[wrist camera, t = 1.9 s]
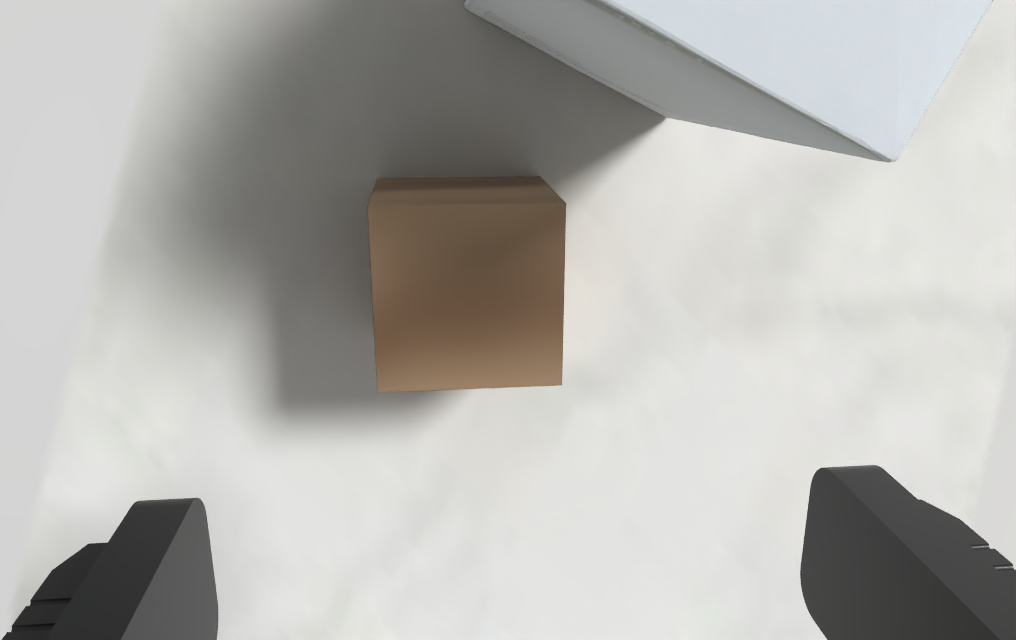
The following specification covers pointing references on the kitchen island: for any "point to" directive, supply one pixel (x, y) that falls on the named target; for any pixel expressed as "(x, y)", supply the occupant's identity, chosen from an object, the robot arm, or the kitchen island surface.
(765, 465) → the kitchen island surface
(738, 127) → the supplement box
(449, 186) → the walnut cube
